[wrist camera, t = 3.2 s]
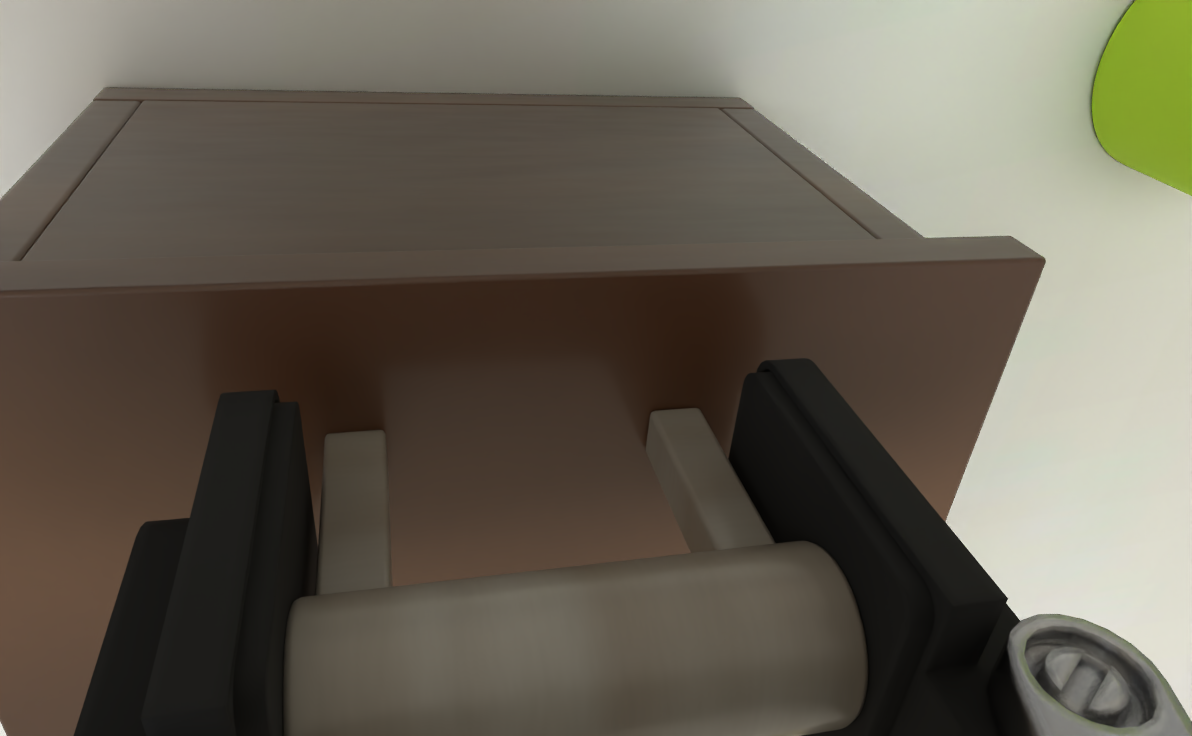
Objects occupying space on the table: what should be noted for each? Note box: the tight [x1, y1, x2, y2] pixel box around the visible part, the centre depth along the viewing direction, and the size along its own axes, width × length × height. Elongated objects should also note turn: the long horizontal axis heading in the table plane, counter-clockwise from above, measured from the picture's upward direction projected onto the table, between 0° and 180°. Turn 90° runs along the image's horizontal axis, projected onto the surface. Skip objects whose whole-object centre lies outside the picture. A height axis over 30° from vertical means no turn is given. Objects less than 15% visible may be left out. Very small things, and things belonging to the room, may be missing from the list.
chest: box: [0, 88, 924, 262], centre depth 19 cm, size 16×14×10 cm
